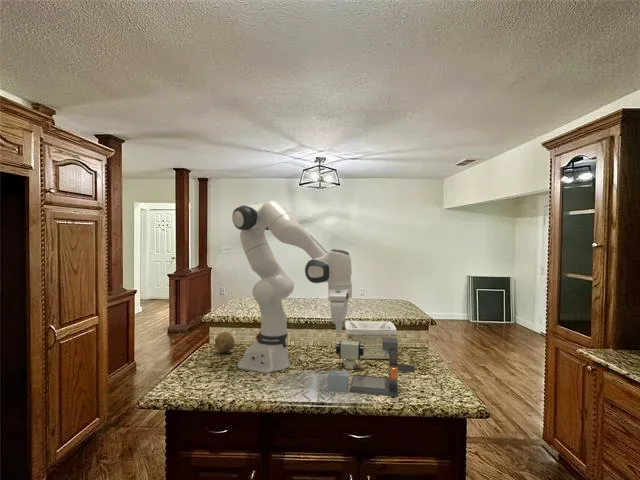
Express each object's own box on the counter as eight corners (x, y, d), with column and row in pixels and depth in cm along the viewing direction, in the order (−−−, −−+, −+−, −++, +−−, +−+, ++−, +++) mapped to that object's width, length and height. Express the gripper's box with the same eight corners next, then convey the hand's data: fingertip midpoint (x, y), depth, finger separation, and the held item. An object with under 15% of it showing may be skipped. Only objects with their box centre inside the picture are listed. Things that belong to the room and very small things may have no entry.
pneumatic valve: (362, 370, 151) (363, 342, 151) (335, 368, 154) (335, 340, 154) (363, 366, 157) (364, 339, 157) (337, 364, 159) (337, 337, 159)
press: (349, 392, 130) (350, 342, 130) (353, 377, 144) (353, 332, 144) (414, 398, 126) (415, 347, 126) (412, 382, 140) (412, 336, 140)
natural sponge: (232, 349, 178) (233, 329, 178) (236, 354, 170) (236, 333, 170) (213, 351, 175) (214, 330, 175) (216, 357, 167) (216, 335, 166)
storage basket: (345, 359, 165) (345, 327, 165) (344, 348, 182) (344, 319, 181) (397, 361, 164) (397, 329, 164) (391, 350, 181) (392, 320, 181)
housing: (327, 391, 131) (328, 373, 131) (330, 385, 136) (330, 368, 136) (346, 392, 130) (347, 375, 130) (348, 387, 135) (348, 370, 135)
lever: (389, 380, 124) (389, 368, 124) (389, 373, 131) (389, 362, 131) (398, 380, 124) (398, 369, 124) (397, 373, 130) (397, 362, 130)
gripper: (335, 288, 145) (335, 323, 145) (327, 296, 125) (328, 336, 125) (351, 289, 144) (351, 323, 144) (345, 297, 124) (346, 337, 124)
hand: (340, 329), depth 134 cm, fingers open, 8 cm apart
